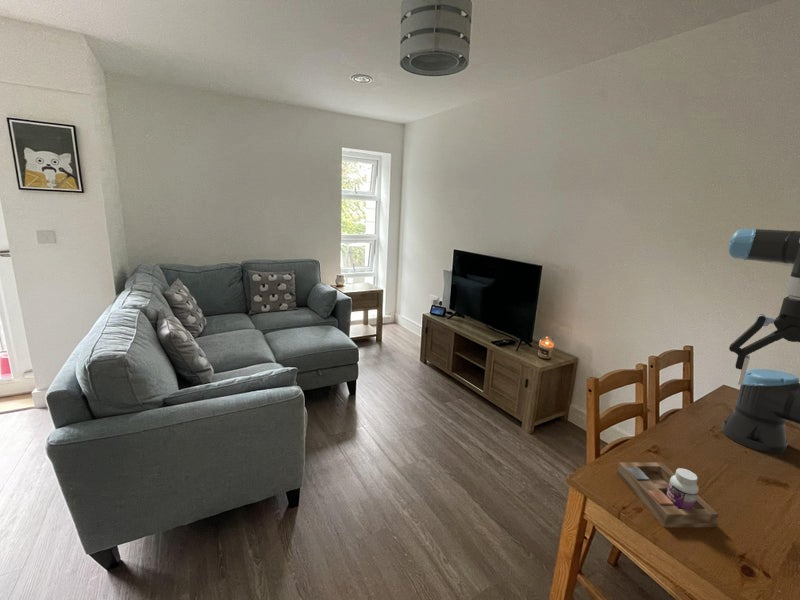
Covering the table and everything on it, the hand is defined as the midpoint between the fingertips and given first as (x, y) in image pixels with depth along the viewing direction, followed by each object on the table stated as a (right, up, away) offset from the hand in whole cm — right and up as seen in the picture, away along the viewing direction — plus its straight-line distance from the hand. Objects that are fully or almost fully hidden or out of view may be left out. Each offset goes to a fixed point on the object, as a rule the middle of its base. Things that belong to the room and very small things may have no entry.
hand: (782, 393), depth 80 cm
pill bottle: (-17, -29, +7) cm, 35 cm away
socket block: (-18, -29, +12) cm, 36 cm away
